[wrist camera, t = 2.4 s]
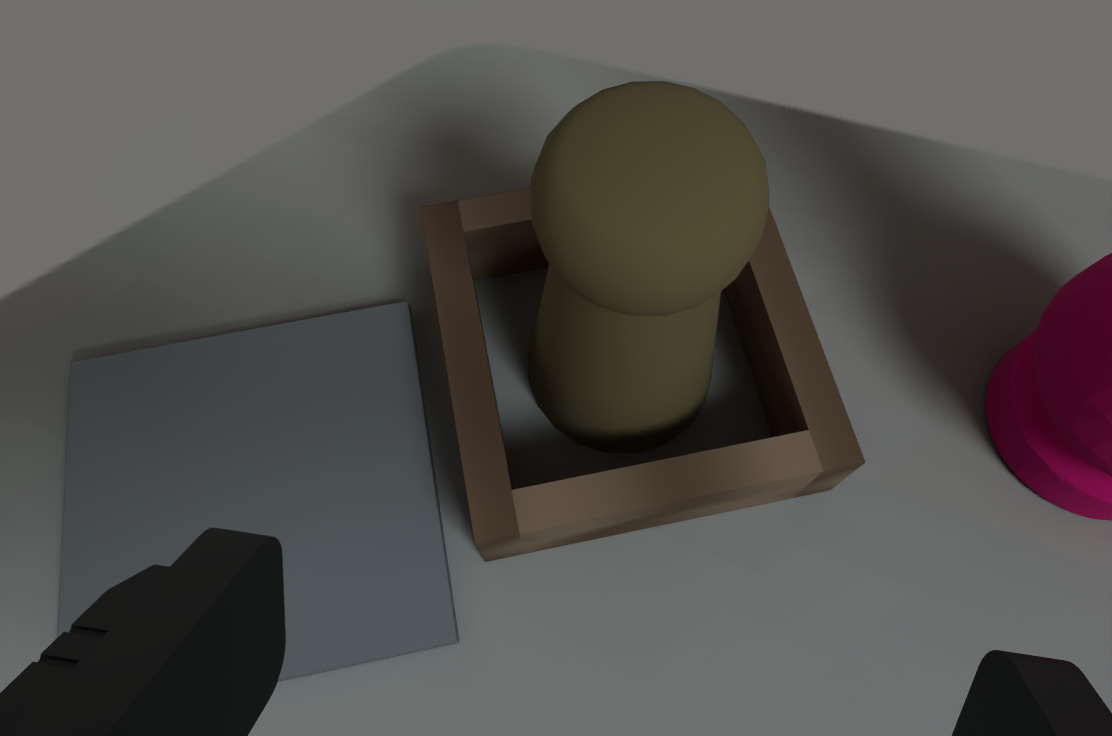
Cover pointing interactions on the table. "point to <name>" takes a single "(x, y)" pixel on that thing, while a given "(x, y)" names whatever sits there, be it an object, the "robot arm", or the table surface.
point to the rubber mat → (269, 477)
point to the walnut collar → (650, 488)
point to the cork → (638, 258)
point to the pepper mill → (1061, 398)
